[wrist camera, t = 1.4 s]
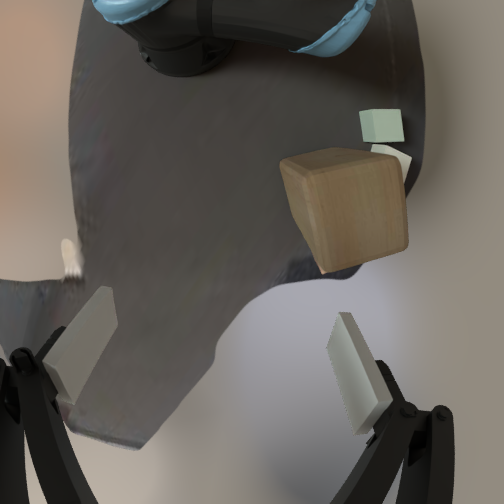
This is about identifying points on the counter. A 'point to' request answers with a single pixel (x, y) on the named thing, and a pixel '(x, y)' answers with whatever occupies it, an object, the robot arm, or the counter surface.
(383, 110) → the cube sage
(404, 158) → the cube cream
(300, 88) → the counter surface
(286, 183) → the wooden block
